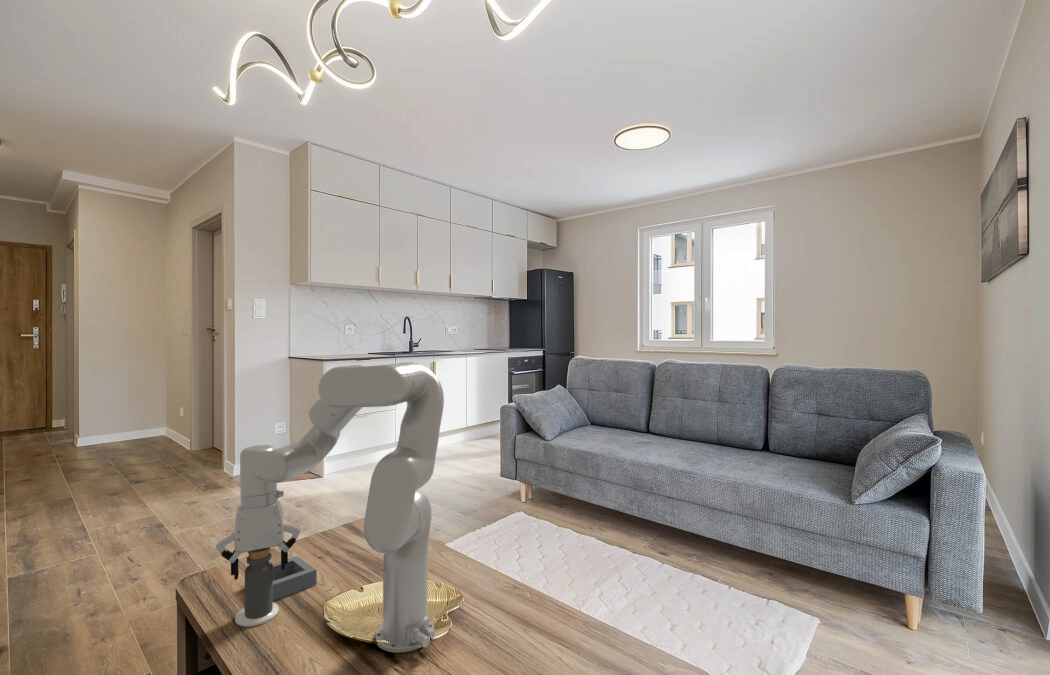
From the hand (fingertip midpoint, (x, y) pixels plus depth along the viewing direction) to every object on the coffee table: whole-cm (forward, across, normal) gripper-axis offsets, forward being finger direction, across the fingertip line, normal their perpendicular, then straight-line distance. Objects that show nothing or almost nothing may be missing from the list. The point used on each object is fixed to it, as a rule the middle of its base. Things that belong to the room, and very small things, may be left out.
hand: (260, 572), depth 115 cm
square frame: (+10, -5, -13) cm, 18 cm away
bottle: (+10, 0, 0) cm, 10 cm away
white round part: (+10, +1, -1) cm, 10 cm away
